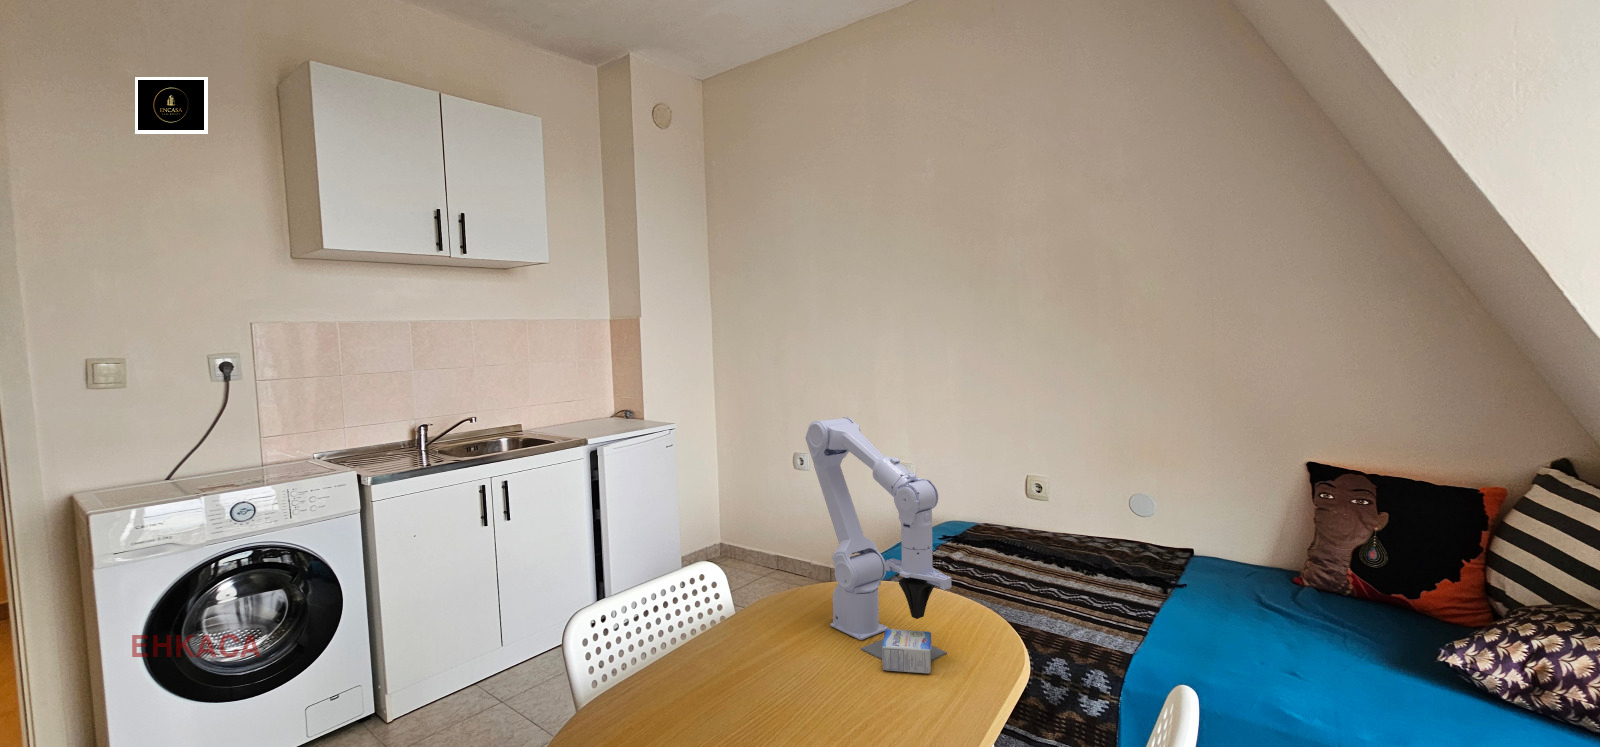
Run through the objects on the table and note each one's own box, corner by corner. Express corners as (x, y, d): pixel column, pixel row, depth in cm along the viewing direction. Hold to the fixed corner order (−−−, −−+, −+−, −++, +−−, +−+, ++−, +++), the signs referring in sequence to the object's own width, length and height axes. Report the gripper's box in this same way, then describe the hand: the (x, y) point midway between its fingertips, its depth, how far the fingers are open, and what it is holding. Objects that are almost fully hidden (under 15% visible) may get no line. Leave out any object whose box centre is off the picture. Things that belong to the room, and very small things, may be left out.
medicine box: (931, 650, 120) (881, 646, 121) (931, 674, 120) (881, 670, 121) (931, 631, 127) (885, 627, 129) (931, 654, 127) (885, 650, 129)
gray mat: (860, 649, 131) (860, 648, 131) (899, 633, 137) (899, 631, 137) (907, 672, 121) (907, 670, 121) (946, 653, 128) (946, 652, 128)
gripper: (874, 541, 130) (875, 610, 131) (933, 559, 119) (933, 635, 119) (899, 534, 134) (900, 601, 135) (958, 550, 123) (959, 624, 124)
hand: (917, 616), depth 127 cm, fingers closed
